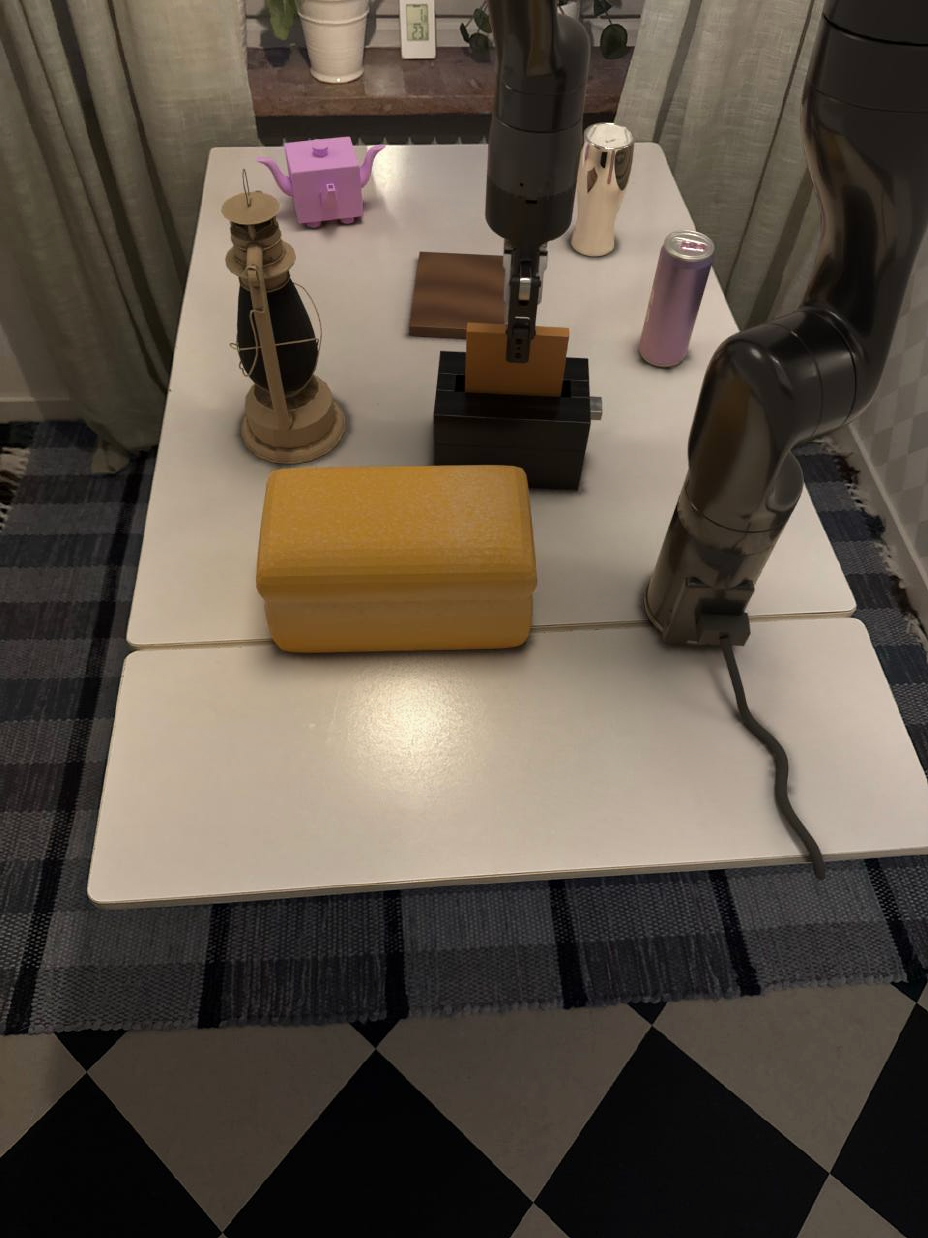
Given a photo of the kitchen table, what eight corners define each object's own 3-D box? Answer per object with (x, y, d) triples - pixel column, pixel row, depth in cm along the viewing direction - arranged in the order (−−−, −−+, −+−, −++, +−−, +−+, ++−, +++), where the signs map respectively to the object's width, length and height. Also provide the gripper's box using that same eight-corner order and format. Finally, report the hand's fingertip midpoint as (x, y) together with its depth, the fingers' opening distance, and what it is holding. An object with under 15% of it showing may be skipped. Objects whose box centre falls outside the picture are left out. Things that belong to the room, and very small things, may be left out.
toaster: (592, 491, 94) (606, 423, 86) (434, 482, 95) (433, 414, 86) (590, 427, 100) (603, 358, 92) (440, 419, 100) (440, 350, 92)
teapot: (271, 248, 118) (258, 179, 110) (261, 197, 126) (248, 128, 117) (398, 233, 121) (395, 164, 113) (381, 183, 128) (377, 115, 120)
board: (503, 340, 109) (504, 330, 107) (409, 335, 109) (408, 325, 107) (506, 265, 117) (507, 255, 116) (419, 260, 118) (419, 250, 116)
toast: (556, 421, 92) (569, 336, 83) (464, 416, 92) (466, 331, 83) (556, 412, 93) (569, 327, 84) (465, 407, 93) (467, 322, 84)
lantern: (245, 386, 103) (181, 128, 78) (344, 381, 104) (312, 125, 79) (238, 474, 95) (164, 219, 70) (345, 469, 96) (310, 214, 71)
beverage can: (683, 372, 106) (715, 263, 93) (635, 365, 106) (660, 255, 94) (686, 341, 109) (717, 232, 97) (639, 335, 110) (664, 225, 97)
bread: (518, 546, 90) (530, 442, 77) (528, 650, 83) (543, 554, 70) (285, 550, 89) (259, 446, 76) (275, 656, 82) (244, 560, 69)
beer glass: (559, 249, 120) (573, 140, 107) (579, 224, 123) (595, 116, 111) (605, 264, 118) (625, 154, 106) (624, 238, 121) (645, 129, 109)
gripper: (490, 120, 74) (482, 284, 88) (483, 214, 66) (476, 378, 80) (576, 125, 74) (555, 288, 87) (580, 219, 66) (556, 383, 80)
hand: (517, 331), depth 84 cm, fingers open, 8 cm apart
